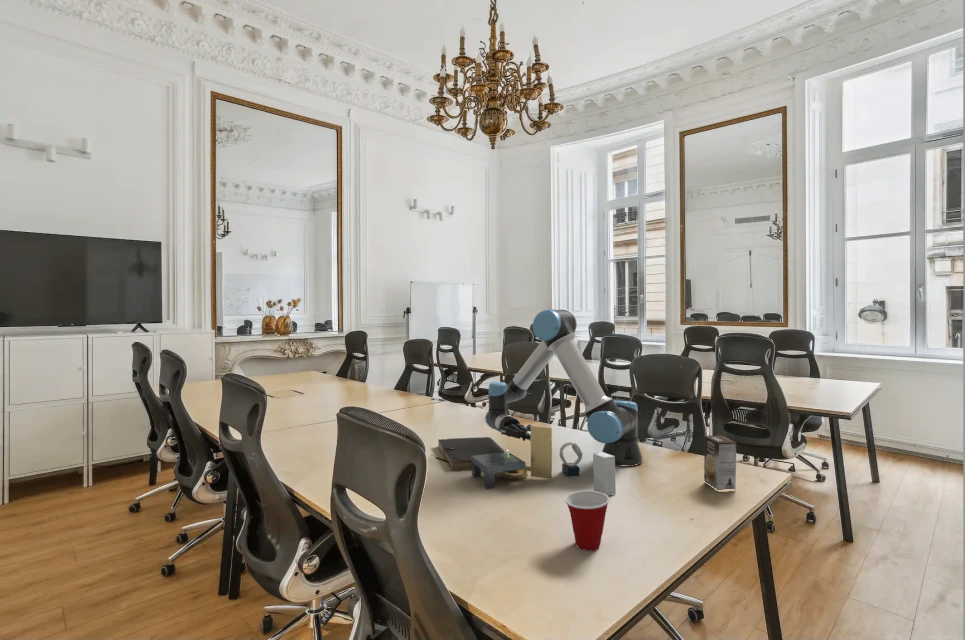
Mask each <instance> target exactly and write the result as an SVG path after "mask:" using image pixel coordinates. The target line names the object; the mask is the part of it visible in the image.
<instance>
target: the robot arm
mask: <svg viewBox="0 0 965 640" xmlns="http://www.w3.org/2000/svg"><path fill="white" fill-rule="evenodd" d="M577 325H578V324H577V319H576V317H575V316H574V315H573V313H572V312H570V311H568V310H566V309H552V308H551V309H549V308H548V309H544V310H541V311H539V312H538V313H537V314H536V315H535V316H534V319H533V322H532V331H533V334H534V336H535V337H536V338H537V339H539V341H541V342H539V344H538V345H537V347H536V348H535V349H534V351H532V353H531V355H530V356H528V359H527V360H526V361H525V363H524V364H523V365H522V366H521V368H520V369H519V370H518V371H517V373H516V374H515V375H514V376H513V378H512V379H511V380H510V382H509V383H508V384H507V383H506V382H502V381H495V382H493V381H492V382H490V383H489V385H488V411H487V412H486V414H485V417H484V421H485V423H486V425H487V426H488V427H489V428H491V429H493V430H495V431H498V432H499V433H501V435H503V436H507V437H510V438H515V439H518V440H521V439H522V441H524V442H525V441H530V442H531V426H532V425H531V424H528V425H524V424H521V423H520V421H519V420H518V418H516V417H513V416H511V415H509V414H508V413H507V412H508V407H507V406H508V404H510V403H513V402H518V401H521V400H523V399H524V398H525V397H526V396H527V390H528V389H529V387H530V386H531V385H532V383H533V382H534V381H535V380H536V378H537V377H538V376H539V375H540V374H541V372H542V371H543V369H545V367H546V366H547V364H548V363H549V362H550V361H551V360H552V358H553V357H554V356H555V355H556V357H557V359H558V360H559V363H560V364H561V366H562V368H563V370H564V371H565V373H566V375H567V377H568V379H569V381H570V382H571V384H572V386H573V388H574V389H575V391H576V393H577V395H578V396H579V398H580V400H581V402H582V403H583V406H584V412H583V413H584V416H585V417H586V420H587V423H586V424H587V425H586V427H587V431H588V434H589V435H590V436H591V437H592V438H593V440H594V441H596V442H598V443H601V444H603V448H602V450H601V452H604V453H607V454H610V455H612V456H615V466H616V465H635V464H639V463H641V462H642V463H643V455H642V451H641V448H640V446H639V443H638V442H639V441H638V428H639V427H638V423H639V421H638V420H639V419H638V418H639V417H638V414H639V409H638V404H637V403H636V402H634V401H626V400H615V399H613V398H612V397H609V396H607V395H606V394H605V392H604V390H603V388H602V386H601V385H600V383H599V382H598V380H597V378H596V376H595V374H594V373H593V371H592V370H591V369H592V368H591V367H590V365H589V363H588V362H587V360H586V359H585V357H584V355H583V354H582V352H581V350H580V349H579V346H578V345H577V344H576V341H575V337H576V333H575V332H576V330H577ZM642 463H641V464H642Z"/></svg>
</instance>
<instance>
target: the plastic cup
mask: <svg viewBox="0 0 965 640" xmlns="http://www.w3.org/2000/svg"><path fill="white" fill-rule="evenodd" d="M610 500H611V499H610V497H609V496H607V495H606V494H604V493H601V492H597V491H595V490H579V491H574V492H571V493H568V494H567V495H566V496H565V497H564V501H565V504H566V505H567V506H568V507H567V508H568V511H569V514H570V518H571V519H570V520H571V524H572V532H573V536H574V542H575V546H576V545H577V546H578V547H579V548H578V547H577V546H576V547H577V548H578V549H580V548H581V549H580V550H583V549H585V550H584V551H589V550H592V551H596V550H599V548H600V546H601V542H602V537H603V533H604V532H603V531H604V527H605V526H604V525H605V520H606V519H605V518H606V513H607V509H608V506H609V505H608V504H609V502H610Z"/></svg>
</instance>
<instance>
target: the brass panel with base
mask: <svg viewBox="0 0 965 640" xmlns="http://www.w3.org/2000/svg"><path fill="white" fill-rule="evenodd" d="M552 430H553V429H552V427H545V426H537V425H536V426H532V425H531V441H530V466H529V465H526V468H525V469H517V470H510V471H502V472H501V476H502V477H503V478H505V479H509V480H521V479H526V478H527V477H528V472H530V477H533V478H542V479H547V480H551V479H552V478H553V476H552V469H553V468H552V467H553V466H552V464H553V462H552V461H553V459H552V455H553V454H552V453H553V452H552V451H553V450H552V449H553V448H552V447H553V446H552V445H553V444H552V439H553V437H552V435H553V431H552Z"/></svg>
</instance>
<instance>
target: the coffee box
mask: <svg viewBox="0 0 965 640" xmlns="http://www.w3.org/2000/svg"><path fill="white" fill-rule="evenodd" d="M703 453H704V462H703V464H704V465H703V467H704V468H703V469H704V471H703V473H704V474H703V477H704V478H703V480H704V481H705V482H706V483H708V484H710V485H711V486H713V487H714V488H716V489H717V490H723V489H724V490H725V489H735V490H736V480H737V478H736V477H737V476H736V475H737V473H736V471H737V442H736V441H734V440H732V439H731V438H729V437H726V436H724V435H722V434H721V435H704V451H703ZM704 481H703V482H704Z"/></svg>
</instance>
